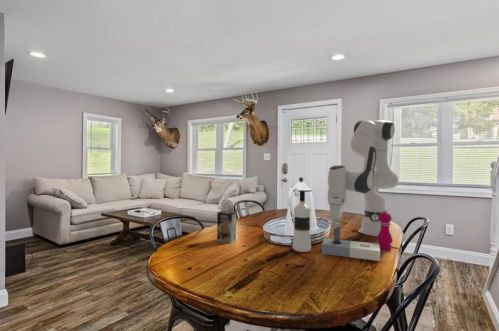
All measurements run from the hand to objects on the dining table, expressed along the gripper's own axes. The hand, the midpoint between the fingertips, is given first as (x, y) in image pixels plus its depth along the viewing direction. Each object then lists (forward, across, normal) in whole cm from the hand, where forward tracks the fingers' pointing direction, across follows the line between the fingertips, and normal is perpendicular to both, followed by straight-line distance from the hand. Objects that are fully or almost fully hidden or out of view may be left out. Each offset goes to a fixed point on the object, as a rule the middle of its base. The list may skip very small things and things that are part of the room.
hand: (336, 226), depth 142 cm
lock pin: (+13, 0, 0) cm, 13 cm away
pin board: (+13, 0, +7) cm, 14 cm away
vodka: (+13, +5, -16) cm, 21 cm away
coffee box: (+13, +6, -58) cm, 60 cm away
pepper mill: (+13, -16, +23) cm, 30 cm away
